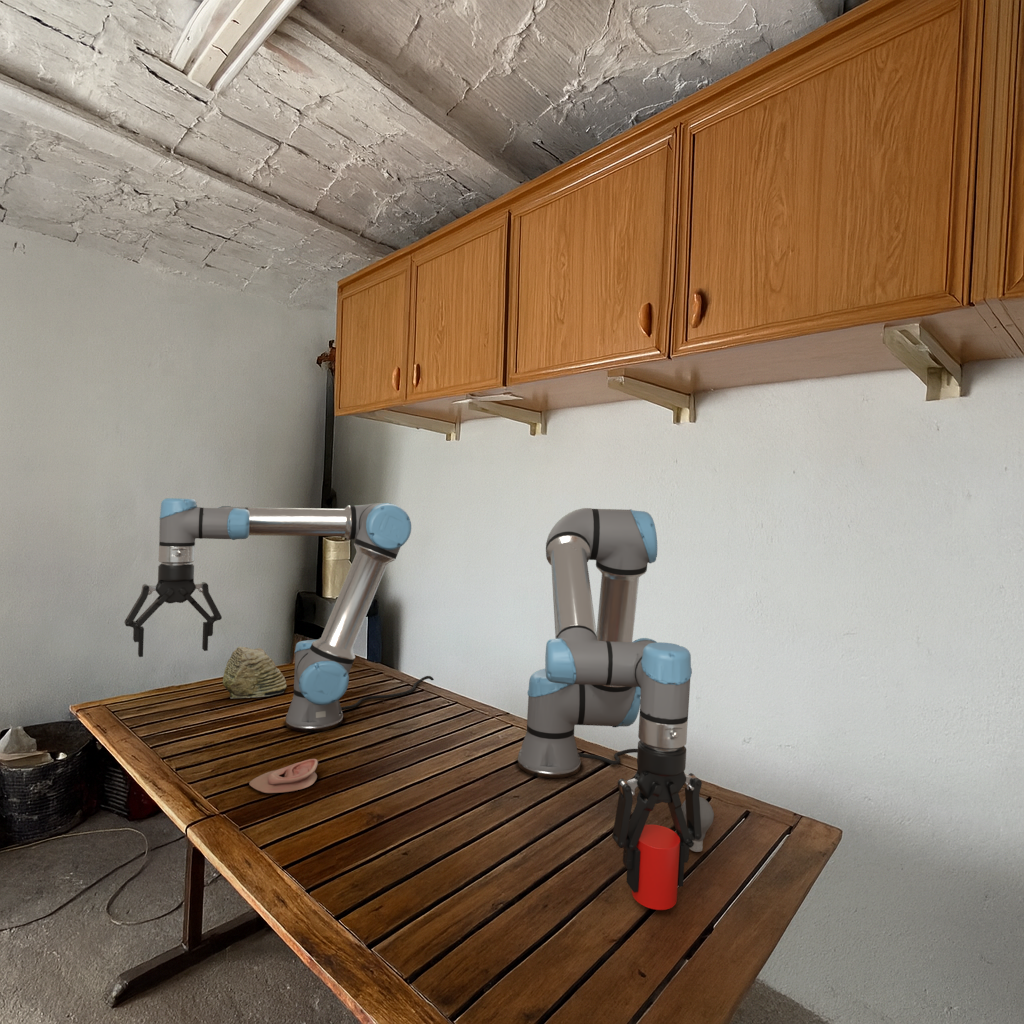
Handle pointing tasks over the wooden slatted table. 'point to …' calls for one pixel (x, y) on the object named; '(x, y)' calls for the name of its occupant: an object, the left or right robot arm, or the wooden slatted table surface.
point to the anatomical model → (287, 778)
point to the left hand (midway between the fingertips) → (173, 652)
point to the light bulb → (706, 822)
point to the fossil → (252, 674)
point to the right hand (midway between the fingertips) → (654, 883)
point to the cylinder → (658, 867)
